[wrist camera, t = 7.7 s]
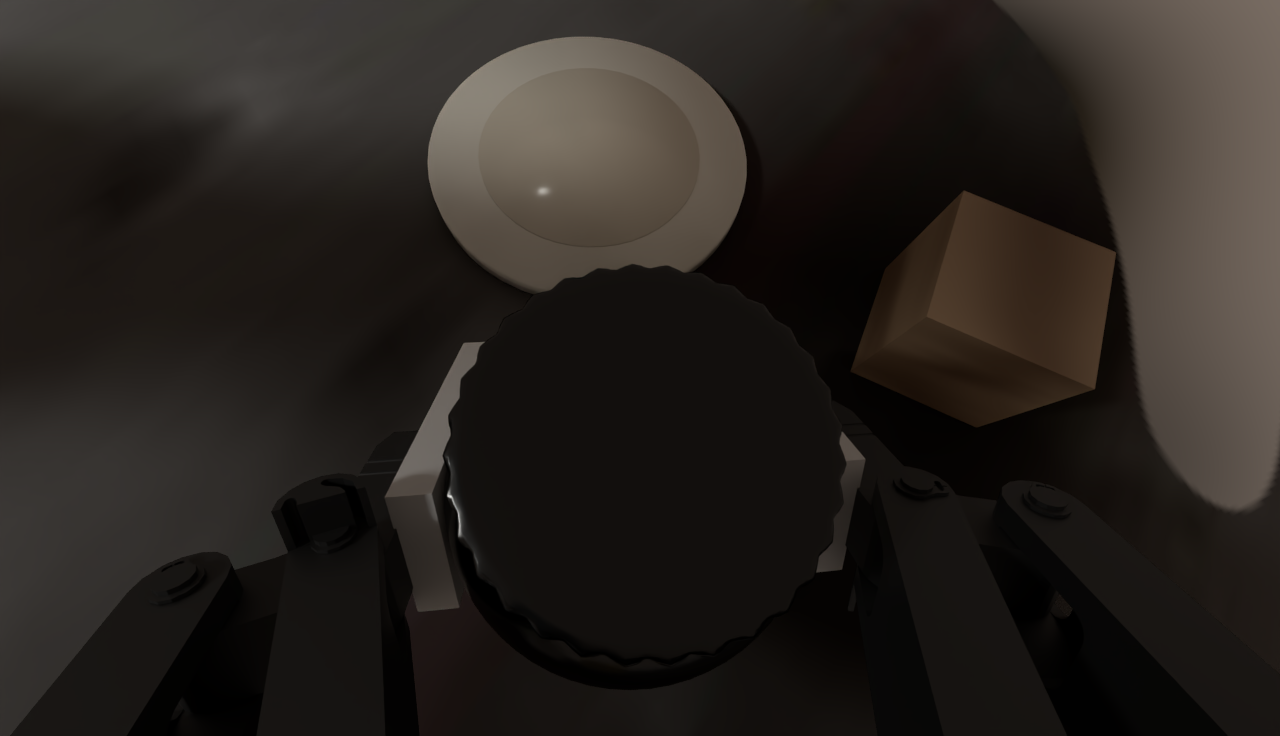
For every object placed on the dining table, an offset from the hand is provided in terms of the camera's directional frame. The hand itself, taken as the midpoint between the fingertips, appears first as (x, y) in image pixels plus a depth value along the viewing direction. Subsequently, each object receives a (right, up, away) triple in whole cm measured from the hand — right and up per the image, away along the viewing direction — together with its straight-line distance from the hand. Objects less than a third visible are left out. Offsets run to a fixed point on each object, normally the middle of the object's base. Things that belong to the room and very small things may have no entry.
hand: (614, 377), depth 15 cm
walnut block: (+12, +1, +5) cm, 13 cm away
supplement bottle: (0, -5, +2) cm, 5 cm away
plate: (-1, +9, +7) cm, 11 cm away
